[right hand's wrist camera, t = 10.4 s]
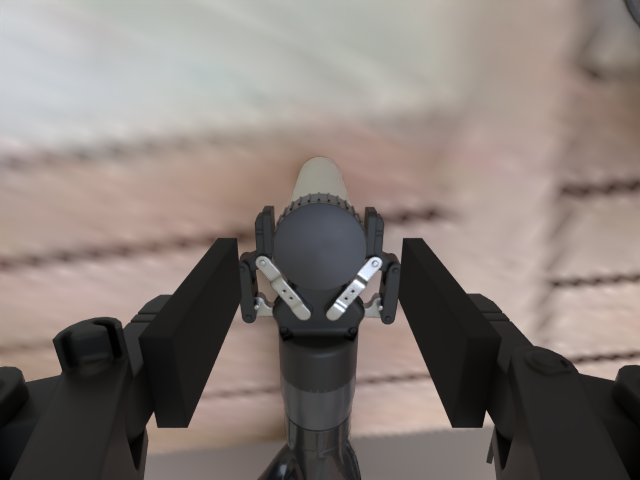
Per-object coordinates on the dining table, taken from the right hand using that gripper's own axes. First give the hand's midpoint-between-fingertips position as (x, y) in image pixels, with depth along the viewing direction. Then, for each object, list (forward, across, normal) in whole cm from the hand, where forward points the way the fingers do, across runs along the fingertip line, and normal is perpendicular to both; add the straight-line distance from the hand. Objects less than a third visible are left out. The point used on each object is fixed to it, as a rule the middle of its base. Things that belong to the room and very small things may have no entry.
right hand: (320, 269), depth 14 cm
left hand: (+15, 0, +1) cm, 15 cm away
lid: (+3, 0, 0) cm, 3 cm away
